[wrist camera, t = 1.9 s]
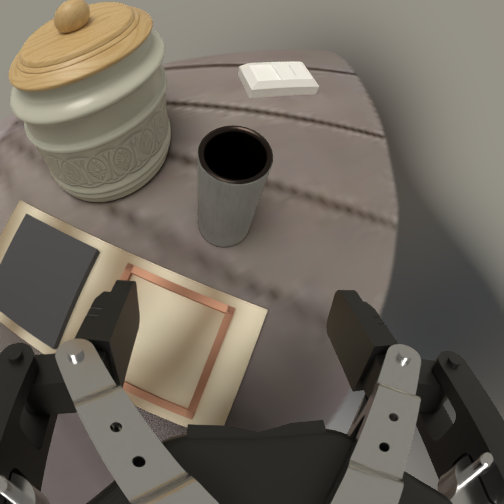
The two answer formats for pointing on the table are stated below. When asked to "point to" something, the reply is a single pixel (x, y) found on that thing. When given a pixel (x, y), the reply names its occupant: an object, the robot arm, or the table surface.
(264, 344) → the table surface
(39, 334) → the pad
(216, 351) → the board
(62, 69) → the jar
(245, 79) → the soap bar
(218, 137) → the grey tumbler
